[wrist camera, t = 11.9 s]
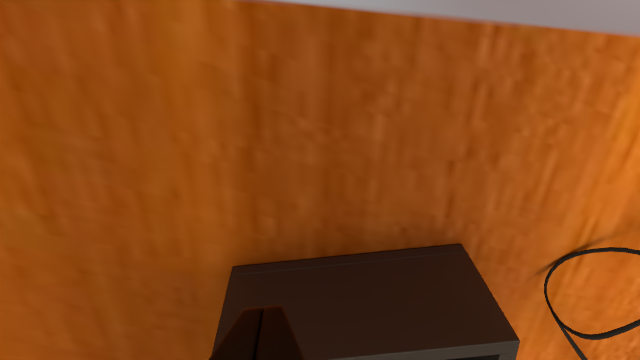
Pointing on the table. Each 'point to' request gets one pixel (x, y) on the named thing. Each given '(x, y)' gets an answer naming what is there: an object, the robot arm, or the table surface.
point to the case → (379, 306)
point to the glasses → (585, 336)
